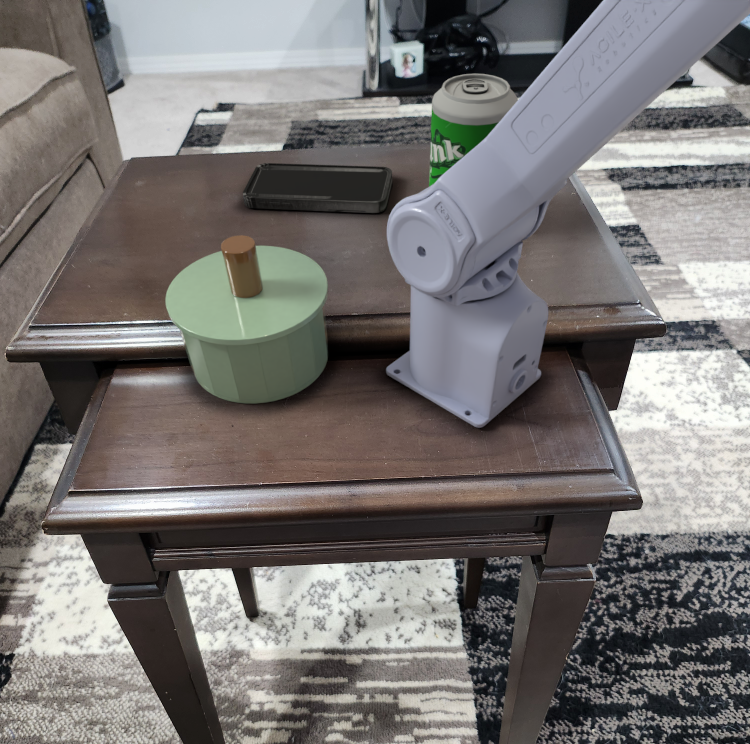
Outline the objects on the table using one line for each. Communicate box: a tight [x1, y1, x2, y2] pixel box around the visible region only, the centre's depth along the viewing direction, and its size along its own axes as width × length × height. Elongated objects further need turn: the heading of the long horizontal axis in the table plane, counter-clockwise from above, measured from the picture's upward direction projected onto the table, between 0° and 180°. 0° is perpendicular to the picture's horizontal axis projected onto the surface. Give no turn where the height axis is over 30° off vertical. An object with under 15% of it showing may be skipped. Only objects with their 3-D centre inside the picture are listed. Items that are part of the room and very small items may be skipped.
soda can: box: [428, 73, 519, 187], centre depth 63 cm, size 8×8×12 cm
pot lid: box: [164, 234, 329, 345], centre depth 48 cm, size 12×12×5 cm
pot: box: [179, 305, 329, 404], centre depth 52 cm, size 11×11×6 cm
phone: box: [242, 162, 393, 214], centre depth 71 cm, size 8×1×15 cm
